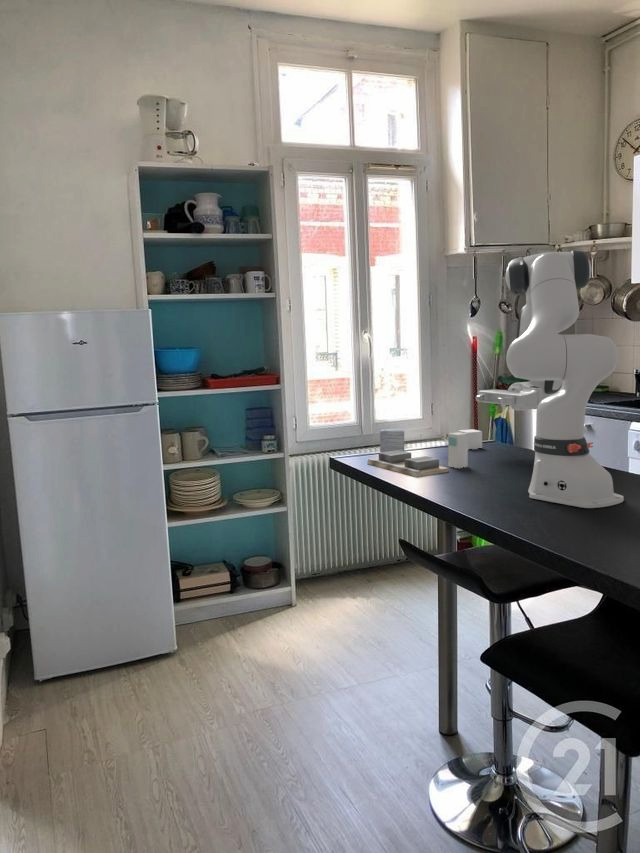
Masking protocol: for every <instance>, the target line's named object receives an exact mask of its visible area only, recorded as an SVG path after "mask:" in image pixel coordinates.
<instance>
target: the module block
mask: <svg viewBox="0 0 640 853" xmlns="http://www.w3.org/2000/svg"><path fill="white" fill-rule="evenodd" d="M447 440H448V441H447V442H448V444H447V445H448V447H447V450H448V452H447V453H448V454H447V455H448V458H447V460H448V463H447V464H448V465H447V467H448V468H453V467H454V468H453V469H457V468H458V469H464V468H468V467H469V466H468V465H469V464H468V462H469V461H468V456H469V455H468V454H469V452H468V451H469V450H468V434H466V433H460V432H458V431H456V432H450V433H449V432H448V438H447ZM463 467H464V468H463Z"/></svg>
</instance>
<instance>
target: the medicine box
mask: <svg viewBox="0 0 640 853" xmlns="http://www.w3.org/2000/svg"><path fill="white" fill-rule="evenodd" d="M397 450H401V451H405V430H404V428H387V429H385V428H383V429H380V430H379V451H380V452H379V453H382V452H389V451H397Z"/></svg>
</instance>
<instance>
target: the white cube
mask: <svg viewBox="0 0 640 853" xmlns="http://www.w3.org/2000/svg"><path fill="white" fill-rule="evenodd" d="M457 432H460V433H466V434H468V451H469V449H472V450H479V449H478V448H482V449H483V431H481V430H478V429H473V428H472V429H461V430H457Z"/></svg>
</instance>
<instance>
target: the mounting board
mask: <svg viewBox="0 0 640 853" xmlns="http://www.w3.org/2000/svg"><path fill="white" fill-rule="evenodd" d="M367 465H370V466H375V467H378V468H381V469H384V470H389V471H392V472H396V473H401V474H404V475H406V476H407V475H408V476H411V477H415V478H417V477H424V476H430V475H436V474H443V473H448V472H450V467H445V466H441V465H440V458H436V457H431V456H427V455H426V456H425V455H424V456H417V457H412V452H410V451H405V450H404V451H401V450H397V451H389V452H382V453H380V452H378V458H377V459H376V458H367Z"/></svg>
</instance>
